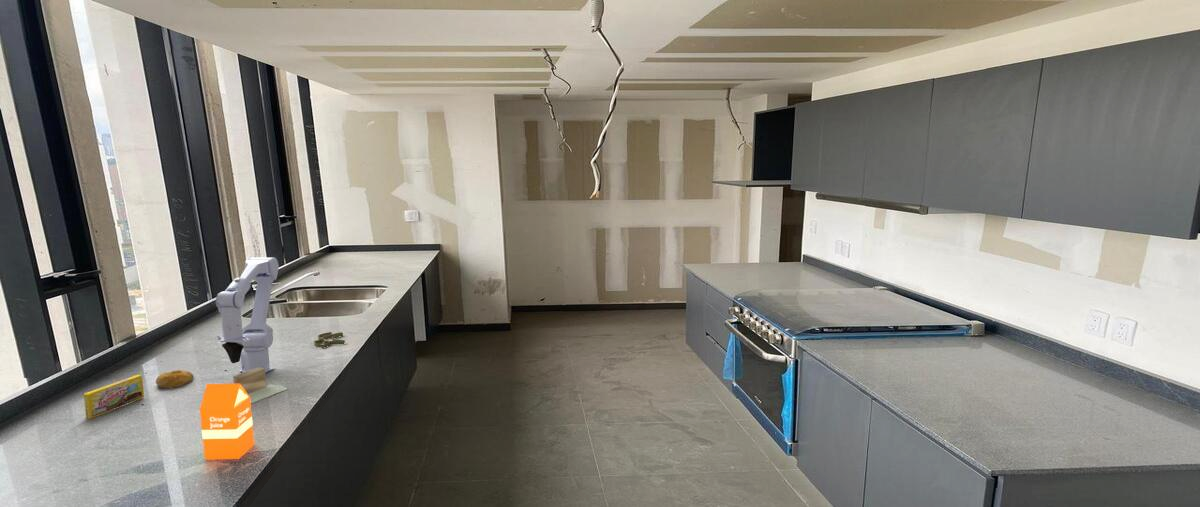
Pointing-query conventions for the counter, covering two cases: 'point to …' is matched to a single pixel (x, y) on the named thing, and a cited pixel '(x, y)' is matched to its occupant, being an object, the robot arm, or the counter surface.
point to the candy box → (113, 396)
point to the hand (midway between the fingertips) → (235, 362)
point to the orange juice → (226, 421)
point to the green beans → (326, 336)
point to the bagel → (174, 378)
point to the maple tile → (251, 379)
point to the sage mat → (265, 393)
